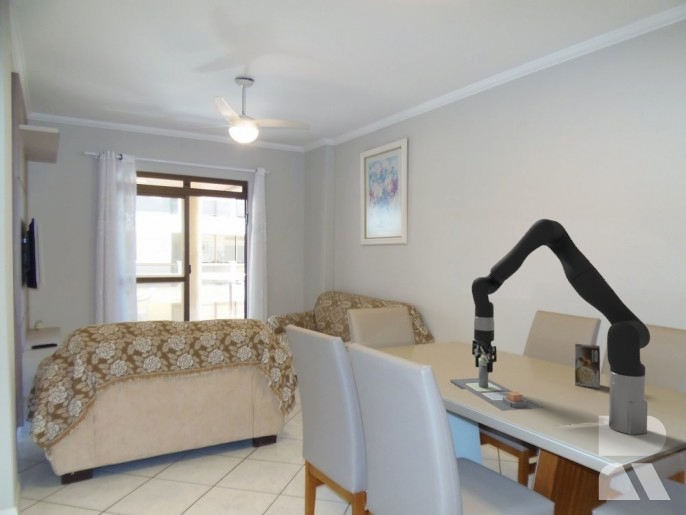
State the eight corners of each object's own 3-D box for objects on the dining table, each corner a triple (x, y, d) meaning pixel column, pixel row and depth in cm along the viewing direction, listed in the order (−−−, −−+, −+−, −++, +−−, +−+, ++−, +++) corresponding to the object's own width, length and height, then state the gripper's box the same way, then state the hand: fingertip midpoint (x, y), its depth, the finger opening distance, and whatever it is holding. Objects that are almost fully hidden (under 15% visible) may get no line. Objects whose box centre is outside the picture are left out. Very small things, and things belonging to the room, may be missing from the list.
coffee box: (599, 384, 192) (600, 345, 192) (600, 388, 187) (600, 348, 187) (574, 381, 197) (575, 343, 197) (574, 385, 191) (574, 345, 191)
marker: (490, 387, 183) (490, 359, 183) (481, 388, 182) (481, 359, 182) (485, 385, 187) (485, 357, 186) (476, 385, 186) (476, 357, 185)
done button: (522, 401, 162) (522, 394, 162) (513, 402, 162) (513, 395, 162) (516, 398, 166) (516, 391, 166) (507, 399, 165) (507, 392, 165)
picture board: (544, 410, 161) (544, 402, 161) (502, 413, 157) (502, 405, 157) (485, 380, 198) (485, 373, 198) (450, 382, 194) (450, 375, 194)
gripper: (503, 330, 178) (502, 373, 178) (483, 325, 192) (482, 364, 192) (485, 331, 176) (484, 374, 176) (466, 325, 190) (466, 365, 190)
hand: (483, 369), depth 184 cm, fingers open, 8 cm apart
